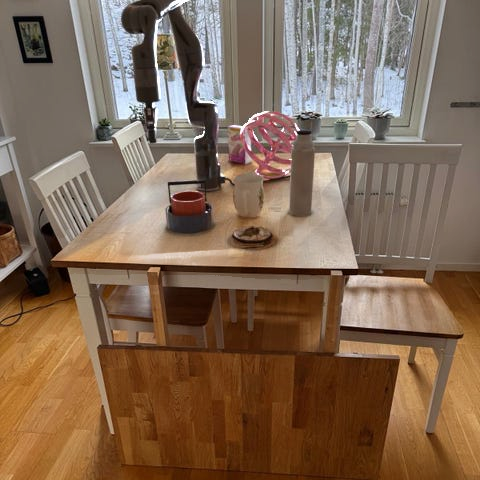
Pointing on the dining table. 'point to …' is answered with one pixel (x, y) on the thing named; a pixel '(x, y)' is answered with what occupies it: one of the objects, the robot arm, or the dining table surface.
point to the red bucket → (188, 199)
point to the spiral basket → (270, 141)
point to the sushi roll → (254, 237)
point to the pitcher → (248, 194)
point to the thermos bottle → (302, 174)
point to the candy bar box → (238, 145)
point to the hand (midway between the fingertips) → (153, 140)
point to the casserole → (189, 221)
